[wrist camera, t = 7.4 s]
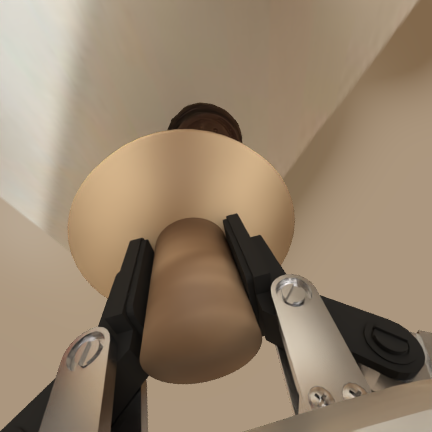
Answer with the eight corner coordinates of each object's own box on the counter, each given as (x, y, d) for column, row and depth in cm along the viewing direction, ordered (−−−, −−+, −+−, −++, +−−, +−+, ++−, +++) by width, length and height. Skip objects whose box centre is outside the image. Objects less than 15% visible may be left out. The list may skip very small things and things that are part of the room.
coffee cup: (206, 171, 35) (221, 200, 24) (159, 150, 32) (151, 172, 21) (229, 121, 32) (260, 128, 21) (180, 93, 29) (184, 83, 18)
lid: (284, 103, 9) (445, 103, 3) (286, 278, 14) (349, 379, 9) (21, 163, 8) (-253, 271, 3) (131, 321, 14) (104, 455, 8)
